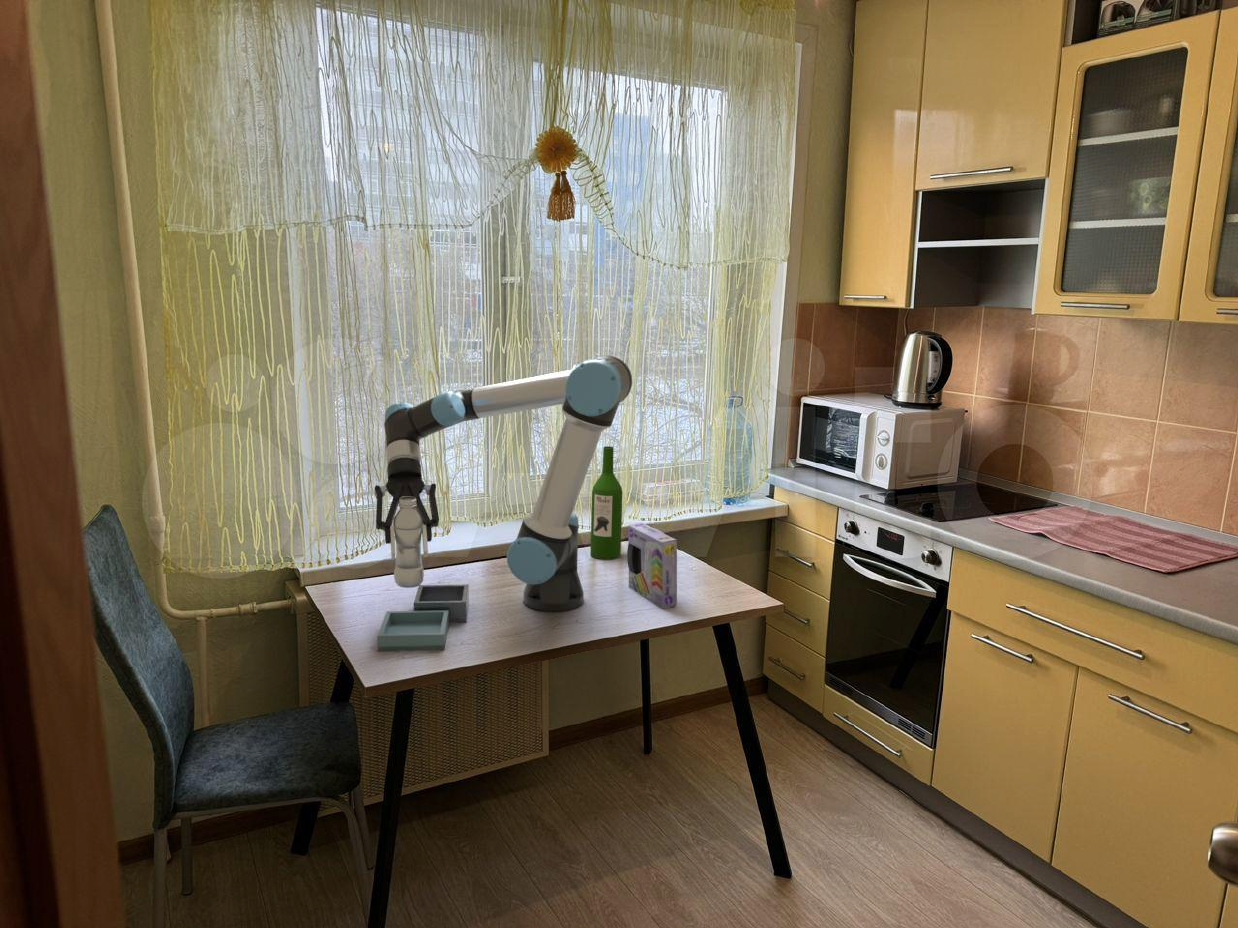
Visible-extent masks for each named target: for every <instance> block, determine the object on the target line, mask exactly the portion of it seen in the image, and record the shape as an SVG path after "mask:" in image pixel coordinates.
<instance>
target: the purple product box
mask: <svg viewBox="0 0 1238 928" xmlns="http://www.w3.org/2000/svg"><path fill="white" fill-rule="evenodd" d="M627 527H628V528H627V530H628V538H627V539H628V540H627V542H628V545H627V551H626V555H627V556H626V557H627V559H626V560H627V567H628V588H629V589H631V590H632V591H634V592H636V593H637V594H639V595H640V596H641V597H643V596H644V597H643V598H645V599H647V600H648V601H650V602H651V603H653V604H655V605H656V606H658V607H660V609H668V608H675V607H674V606H677V604H678V600H677V599H678V540H677V539H676V538H674V537H671V536H670V535H668V534H665V533H664V532H663V531H661V530H659V529H658V528H655V527H652V526H650V525H648V524H646V523H644V522H637V523H633V524H628V526H627Z"/></svg>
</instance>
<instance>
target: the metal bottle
mask: <svg viewBox="0 0 1238 928" xmlns="http://www.w3.org/2000/svg"><path fill="white" fill-rule="evenodd" d="M398 507H399V508H400V509H399V510H398V511H397V512H396V513H395V516H394V519H393V523H392V525H393V526H394V537H395V565H394V570H393V571H394V572H393V578H394V582H395V584H396V585H397V586H398V587H400V588H404V589H405V588H406V589H411V588H416V587H417V588H418V587H419V585H422V583H423V581H424V576H425V572H424V566H423V562H422V551H421V549H422V546H421V545H422V526H423V520H422V517H421V515H420V514H419V512H418V511H417V509H416V507H417V504H416V497H412V496H405V497H401V498H400V499H399V505H398Z"/></svg>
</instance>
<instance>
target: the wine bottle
mask: <svg viewBox="0 0 1238 928" xmlns="http://www.w3.org/2000/svg"><path fill="white" fill-rule="evenodd" d="M622 487H623V486H621V484H620V482H619V480H618V479H617V477H616V476H615V473H614V447H613V446H611V445H610V446H603V449H602V470H601V474H600V475H599V477H598V478H597V480H596V481H595V483H594V485H593V487H592V490H591V514H590V515H591V516H590V517H591V518H590V556H591V558H593V559H596V560H600V561H601V560H602V561H612V560H617V559H619V558H620V557H621V554H622V549H621V548H622V524H623V523H622V518H623V517H622V516H623V488H622Z"/></svg>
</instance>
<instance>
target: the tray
mask: <svg viewBox="0 0 1238 928" xmlns="http://www.w3.org/2000/svg"><path fill="white" fill-rule="evenodd" d="M449 626H450V623H449V610H434V611H414V610H395V611H394V610H391V611H390V610H386V612H385V614H384V617H383V620H382V622H381V625H380V628H379V630H378V634H377V651H378V652H393V651H395V652H398V651H399V650H405V651H434V650H435V651H437V650H436V649H444V650H445V647H446V643H447V642H446V641H447V636H448V630H449Z"/></svg>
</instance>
